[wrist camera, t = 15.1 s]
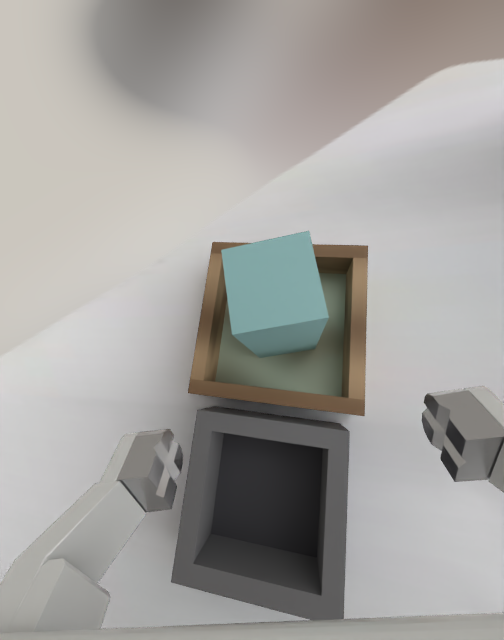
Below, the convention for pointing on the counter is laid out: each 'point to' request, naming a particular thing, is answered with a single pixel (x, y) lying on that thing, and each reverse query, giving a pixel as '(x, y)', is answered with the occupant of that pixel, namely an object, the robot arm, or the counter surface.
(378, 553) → the counter surface
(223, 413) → the box
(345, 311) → the walled bay
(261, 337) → the teal block
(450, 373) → the counter surface
